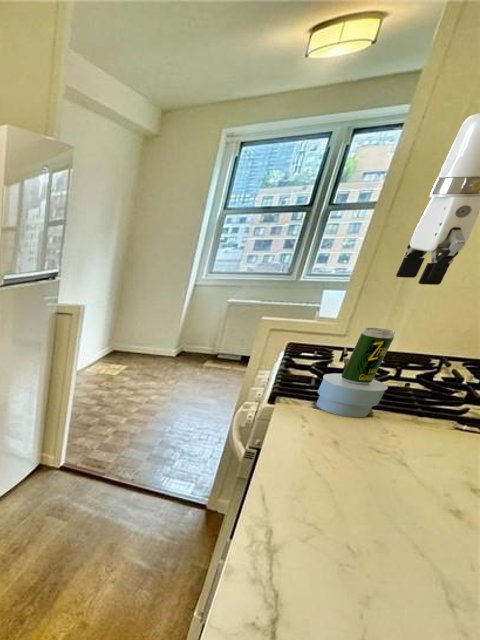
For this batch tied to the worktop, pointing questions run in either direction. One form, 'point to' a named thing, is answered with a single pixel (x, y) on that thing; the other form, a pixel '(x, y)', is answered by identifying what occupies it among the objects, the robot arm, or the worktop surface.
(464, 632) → the worktop surface
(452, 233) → the robot arm
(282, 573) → the worktop surface
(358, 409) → the yogurt tub
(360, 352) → the beer can
